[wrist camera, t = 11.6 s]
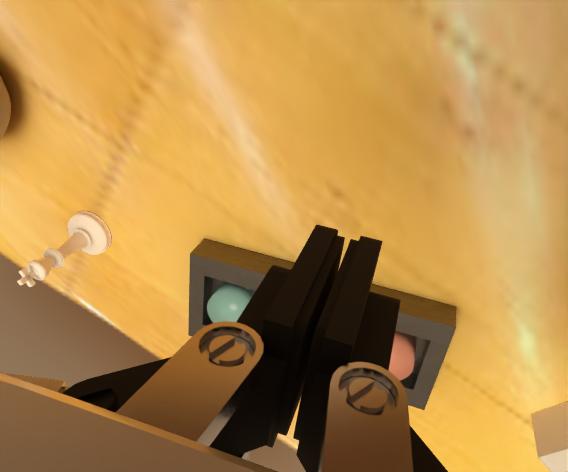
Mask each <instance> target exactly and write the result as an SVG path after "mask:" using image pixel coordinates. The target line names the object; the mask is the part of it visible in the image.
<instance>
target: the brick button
mask: <svg viewBox="0 0 568 472" xmlns="http://www.w3.org/2000/svg"><path fill="white" fill-rule="evenodd" d="M415 351H416V341H415V338H414V336H412V335H409V334H405V333H402V332H399V331H395V336H394V342H393V348H392V354H391V359H390V365H389V371H390V372H391V373H392V374H393V375H394V376H395V377H397V378H398V379H399V380H403V379H405V378H407V377H408V376H409V375H410V374H411V373H412V371H413V368H414V360H415Z"/></svg>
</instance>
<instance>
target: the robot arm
mask: <svg viewBox="0 0 568 472" xmlns="http://www.w3.org/2000/svg"><path fill="white" fill-rule="evenodd" d="M337 235H338V230H336V229H332V228H328V227H324V226H320V225H316V226H315V228H314V230H313V232H312V233H311V235H310V237H309V239H308V241H307V242H306V244H305V246H304V248H303V250H302V251H301V253H300V255H299V257H298V259H297V260H296V262H295V264H294V266H293V268H292V269H287V268H283V267H280V266H276V265H273V266H272V267H271V268H270V269H269V271H268V272H267V274H266V276H265V277H264V279H263V280H262V282H261V283H260V285H259V287H258V288H257V290H256V291H255V293H254V295H253V296H252V298H251V299H250V301H249V303H248V304H247V306H246V307H245V309H244V310H243V312H242V314H241V315H240V317H239V318H238V320H237V322H228V321H223V322H216V323H212V324H210V325H207V326H205V327H203V328H202V329H200V330H199V331H198V332H197V333H196V334H194V335H193V336H192V337H191V338H190V339H189V340H188V341H187V342H186V343H185V344H184V345H183V346H182V347H181V348H180V349H179V350H178V351H177V352H176V353H175V354H174V355H173V356H172V357H170V358H166V359H162V360H159V361H155V362H151V363H147V364H143V365H140V366H136V367H132V368H129V369H124V370H121V371H117V372H113V373H109V374H105V375H102V376H98V377H94V378H91V379H87V380H84V381H82V382H79V383H77V384H75V385H73V386H72V387H65V381H63V380H55V379H47V378H39V377H32V376H24V375H16V374H8V373H0V472H277V471H274V470H272V469H269V468H266V467H263V466H261V465H258V464H255V463H253V462H250V461H248V459H249V457H250V452H251V450H254V449H257V448H259V447H262V446H265V445H267V446H269V447H273V445H274V442H275V439H276V437H277V434H278V433H280V434H282V435H285V436H286V435H287V433H288V430H289V428H290V425H291V422H292V420H293V417H294V414H295V411H296V409H297V406H298V403H299V401H300V398H301V401H300V406H299V411H298V416H297V421H296V426H295V432H294V437H293V438H294V439H297V440H299V445H298V450H297V457H298V458H299V460H300V462H301V464H302V465H303V467H304V469H305V470H306V472H448V471H447V470H446V469H445V467H444V466H443V465H442V464H441V463H440V461H439V460H438V459H437V458H436V457H435V455H434V454H433V453H432V452H431V451H430V449H429V448H428V447H427V446H426V444H425V443H424V442H423V441H422V440H421V438H420V437H419V436H418V435H417V434H416V432H415V431H414V430H413V429H412V428H411V426H410V424H409V412H408V400H407V395H406V391H405V388H404V387H403V385H402V384H401V382H400V381H399V379H398V378H397V377H395V376H394V375H393V374H392V373H391V372H390V371H389V365H390V359H391V354H392V348H393V342H394V336H395V330H396V325H397V319H398V313H399V307H400V299H396V298H393V297H389V296H385V295H382V294H378V293H374V292H371V291H370V288H371V284H372V280H373V276H374V272H375V268H376V265H377V261H378V257H379V253H380V249H381V245H382V241H380V240H376V239H372V238H368V237H364V236H361V237H360V239H359V241H357V240H353V239H351V240H350V243H349V245H348V248H347V251H346V253H345V256H344V258H343V261H342V263H341V266H340V268H339V264H340V259H341V254H342V250H343V245H344V239H345V237H341V236H337ZM338 269H339V271H338Z"/></svg>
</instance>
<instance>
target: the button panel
mask: <svg viewBox="0 0 568 472" xmlns="http://www.w3.org/2000/svg"><path fill="white" fill-rule="evenodd" d="M294 264H295V263H293V262H289V261H285V260H282V259H278V258H274V257H270V256H267V255H263V254H259V253H256V252H252V251H248V250H245V249H241V248H237V247H234V246H230V245H226V244H223V243H219V242H215V241H212V240H208V239H203V241H202V242H201V243H200V244H199V245H198V246H197V247H196V248H195V249H194V250H193V251H192V252H191V253H190V286H189V336H193V335H194V334H196V333H197V332H198V331H199V330H200V329H202V328H203V327H205V326H207V325H210V324H212V323H213V322H212V320H211V319H210V317H209V315H208V312H207V304H208V301H209V299H210V298H211V297H212V295H213V294H214V293H215V291H216V290H217V289H218V287H219V286H220V285H221V284H222V283H223V282H224V281H225V282H229V283H232V284H235V285H239V286H242V287H246V288H249V289H253V290H257V288H258V287H259V285H260V283H261V282H262V280H263V279H264V277H265V276H266V274H267V272H268V271H269V269H270V268H271V267H272V266H273V265H276V266H280V267H283V268H287V269H292V268H293V266H294ZM370 291H371V292H374V293H378V294H382V295H385V296H389V297H393V298H396V299H400V307H399V313H398V319H397V325H396V330H395V331H399V332H402V333H405V334H409V335H412V336H414V338H415V341H416V351H415V360H414V368H413V371H412V373H411V374H410V375H409V376H408V377H407V378H405V379H403V380H399V381H400V382H401V384H402V385H403V387H404V388H405V391H406V395H407V400H408V405H410V406H413V407H416V408H419V409H422V410H424V409H425V406H426V404H427V401H428V399H429V396H430V393H431V391H432V388H433V386H434V383H435V381H436V378H437V375H438V373H439V370H440V368H441V365H442V362H443V360H444V357H445V355H446V352H447V349H448V347H449V344H450V342H451V339H452V336H453V334H454V331H455V329H456V307H455V306H451V305H447V304H444V303H440V302H436V301H433V300H429V299H425V298H422V297H418V296H414V295H410V294H407V293H403V292H399V291H396V290H392V289H388V288H385V287H381V286H377V285H374V284H371V288H370Z"/></svg>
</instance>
